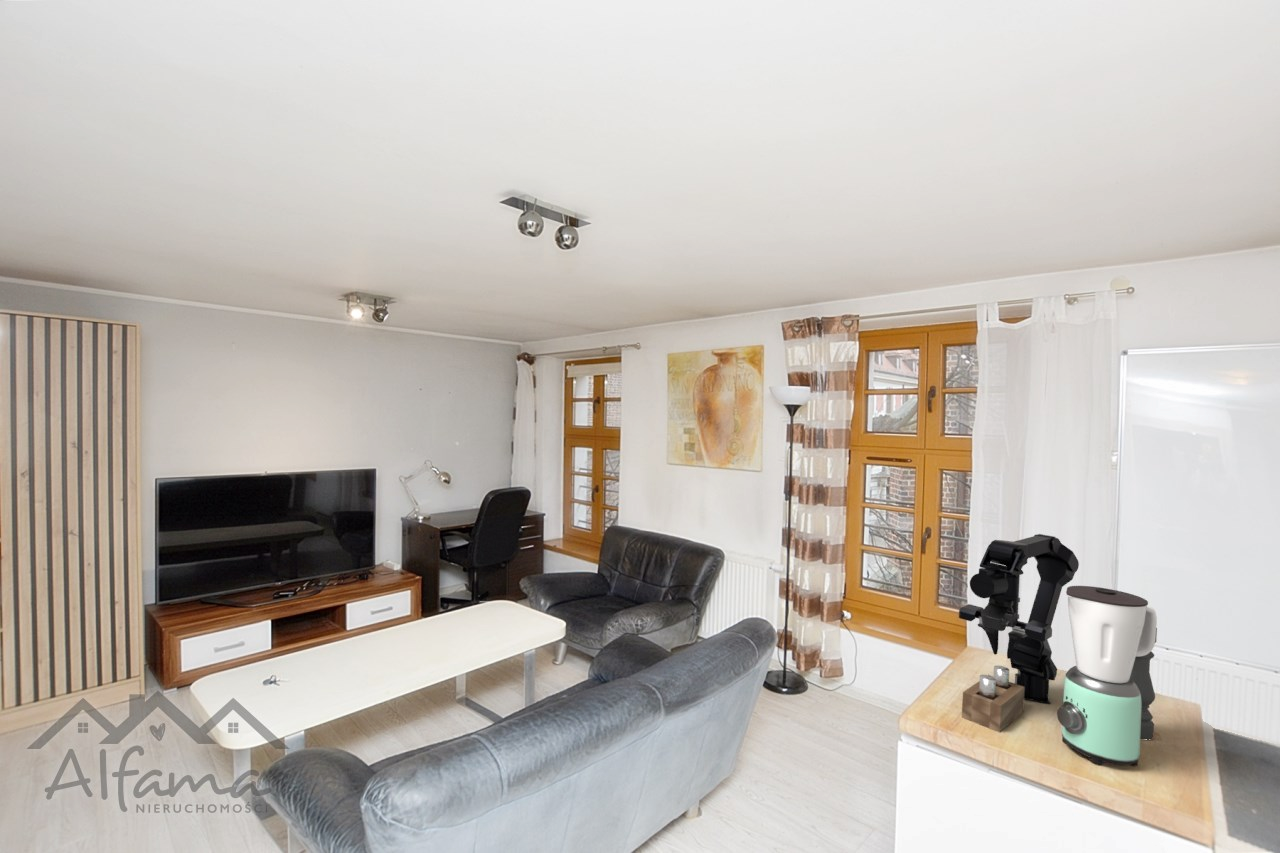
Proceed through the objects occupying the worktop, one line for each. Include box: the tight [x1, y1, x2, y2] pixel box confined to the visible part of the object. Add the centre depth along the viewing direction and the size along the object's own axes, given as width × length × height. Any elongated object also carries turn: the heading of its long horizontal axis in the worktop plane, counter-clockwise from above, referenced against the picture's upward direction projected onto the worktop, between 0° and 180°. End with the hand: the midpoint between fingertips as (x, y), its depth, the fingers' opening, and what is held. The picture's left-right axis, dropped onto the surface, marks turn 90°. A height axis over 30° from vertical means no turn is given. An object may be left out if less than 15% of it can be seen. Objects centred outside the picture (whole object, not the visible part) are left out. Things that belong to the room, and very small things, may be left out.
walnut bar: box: [961, 674, 1025, 733], centre depth 137 cm, size 8×16×6 cm, turn 130°
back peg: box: [993, 665, 1010, 689], centre depth 140 cm, size 3×3×6 cm
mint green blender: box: [1056, 585, 1158, 767], centre depth 122 cm, size 19×13×35 cm
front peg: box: [979, 674, 996, 700], centre depth 134 cm, size 3×3×6 cm
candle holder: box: [1130, 627, 1158, 741], centre depth 131 cm, size 6×6×25 cm
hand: (1002, 656), depth 140 cm, fingers open, 3 cm apart
